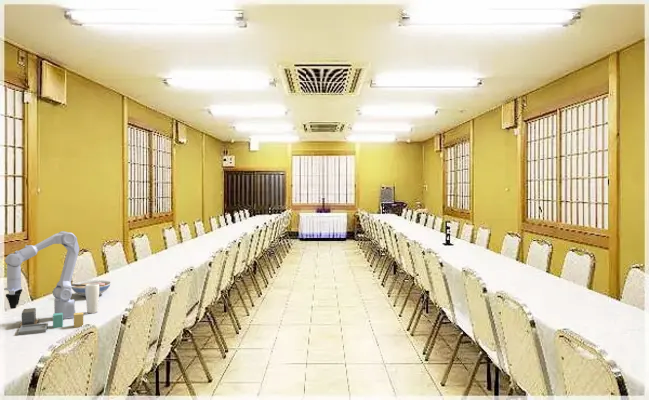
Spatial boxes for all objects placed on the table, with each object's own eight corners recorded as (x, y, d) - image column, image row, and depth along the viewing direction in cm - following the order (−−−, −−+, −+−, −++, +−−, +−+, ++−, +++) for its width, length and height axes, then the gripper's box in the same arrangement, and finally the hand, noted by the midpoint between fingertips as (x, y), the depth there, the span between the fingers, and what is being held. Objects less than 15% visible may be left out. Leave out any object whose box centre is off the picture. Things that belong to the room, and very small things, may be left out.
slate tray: (47, 326, 238) (47, 322, 238) (45, 332, 228) (45, 329, 228) (21, 328, 234) (21, 325, 234) (17, 335, 224) (17, 331, 224)
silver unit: (38, 321, 247) (38, 307, 247) (36, 326, 238) (36, 311, 237) (22, 322, 244) (21, 308, 244) (19, 328, 235) (19, 313, 235)
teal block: (62, 324, 241) (62, 312, 241) (62, 327, 237) (62, 314, 237) (53, 325, 239) (53, 313, 239) (52, 328, 235) (52, 315, 235)
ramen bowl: (120, 292, 314) (119, 279, 314) (100, 300, 291) (100, 286, 291) (82, 291, 316) (82, 278, 316) (60, 299, 294) (60, 285, 293)
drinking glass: (101, 310, 268) (101, 283, 267) (96, 314, 261) (96, 285, 261) (88, 310, 268) (88, 283, 267) (83, 314, 261) (83, 285, 260)
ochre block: (83, 324, 242) (83, 312, 242) (83, 326, 238) (83, 314, 238) (74, 325, 240) (74, 313, 240) (73, 327, 236) (73, 315, 236)
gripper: (6, 276, 242) (7, 304, 243) (1, 281, 229) (2, 310, 230) (23, 275, 245) (23, 302, 246) (19, 280, 232) (19, 309, 233)
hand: (14, 306), depth 238 cm, fingers open, 7 cm apart
